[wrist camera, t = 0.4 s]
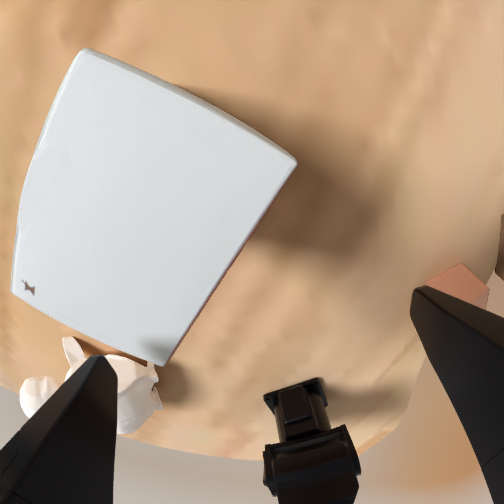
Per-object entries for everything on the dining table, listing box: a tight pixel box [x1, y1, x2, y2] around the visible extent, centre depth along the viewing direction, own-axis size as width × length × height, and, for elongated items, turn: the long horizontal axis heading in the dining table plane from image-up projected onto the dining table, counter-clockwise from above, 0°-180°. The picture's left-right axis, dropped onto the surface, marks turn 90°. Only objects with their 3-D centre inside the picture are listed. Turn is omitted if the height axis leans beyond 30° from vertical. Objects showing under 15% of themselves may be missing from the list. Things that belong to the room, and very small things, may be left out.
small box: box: [11, 48, 298, 366], centre depth 13 cm, size 8×6×13 cm
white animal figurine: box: [20, 336, 163, 434], centre depth 24 cm, size 8×8×15 cm
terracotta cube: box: [425, 263, 489, 310], centre depth 25 cm, size 5×5×5 cm
